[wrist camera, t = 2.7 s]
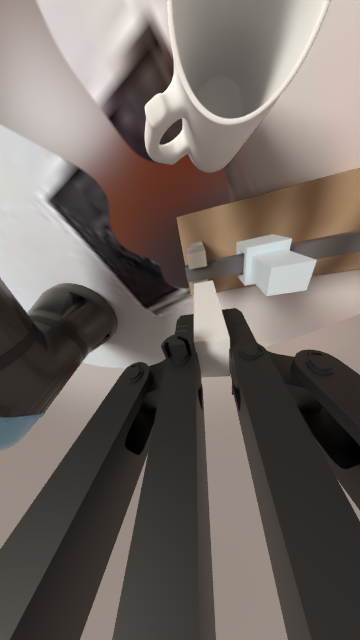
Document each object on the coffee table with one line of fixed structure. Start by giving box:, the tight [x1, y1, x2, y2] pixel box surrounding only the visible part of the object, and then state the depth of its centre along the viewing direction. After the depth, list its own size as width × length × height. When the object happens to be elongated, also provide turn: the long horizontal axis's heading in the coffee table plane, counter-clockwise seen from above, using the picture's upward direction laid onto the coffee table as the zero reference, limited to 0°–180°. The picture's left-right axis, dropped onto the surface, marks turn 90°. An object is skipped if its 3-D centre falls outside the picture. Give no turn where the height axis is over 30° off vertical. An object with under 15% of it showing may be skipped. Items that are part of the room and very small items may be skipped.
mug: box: [145, 0, 331, 173], centre depth 11 cm, size 10×7×12 cm, turn 117°
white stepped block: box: [236, 234, 317, 296], centre depth 14 cm, size 4×4×8 cm
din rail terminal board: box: [177, 168, 360, 296], centre depth 17 cm, size 32×12×9 cm, turn 102°
